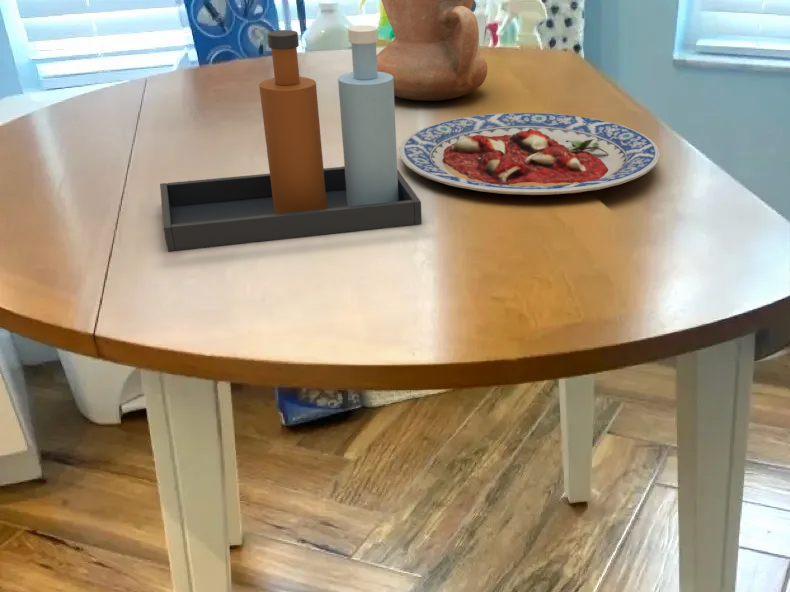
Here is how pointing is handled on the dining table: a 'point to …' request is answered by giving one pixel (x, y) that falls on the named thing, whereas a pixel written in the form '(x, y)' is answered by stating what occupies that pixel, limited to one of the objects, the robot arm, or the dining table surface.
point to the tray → (270, 212)
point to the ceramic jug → (432, 49)
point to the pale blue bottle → (368, 124)
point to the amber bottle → (292, 130)
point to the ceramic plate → (529, 153)
